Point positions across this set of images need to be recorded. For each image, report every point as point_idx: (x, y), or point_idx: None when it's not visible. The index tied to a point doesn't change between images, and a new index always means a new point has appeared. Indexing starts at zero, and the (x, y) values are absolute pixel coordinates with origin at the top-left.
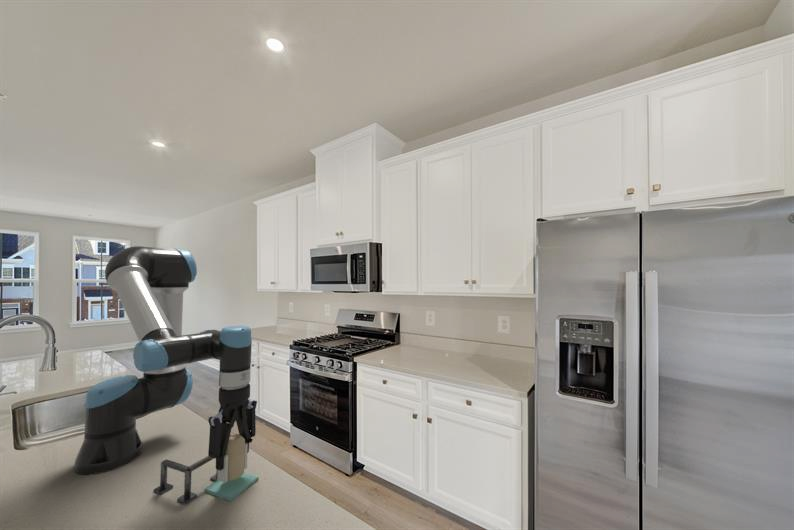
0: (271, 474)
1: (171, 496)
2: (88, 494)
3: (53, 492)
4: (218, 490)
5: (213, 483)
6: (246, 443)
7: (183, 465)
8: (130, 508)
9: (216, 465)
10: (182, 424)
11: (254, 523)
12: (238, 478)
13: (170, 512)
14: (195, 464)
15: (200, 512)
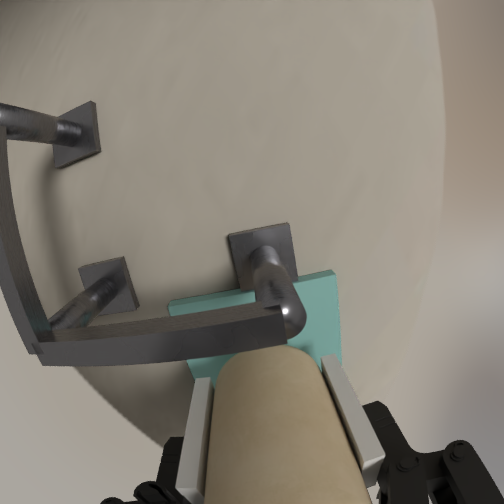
0: (379, 389)
1: (78, 212)
2: (7, 21)
3: None
4: (201, 363)
5: (210, 305)
6: (372, 484)
7: (16, 300)
8: None
9: (164, 458)
10: None
11: None
12: None
13: (61, 305)
14: (69, 358)
15: (126, 383)
